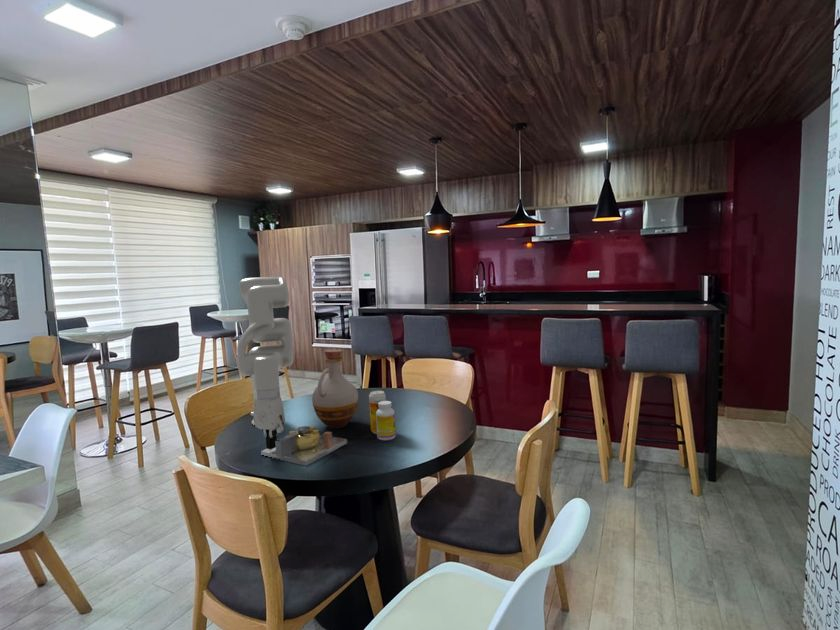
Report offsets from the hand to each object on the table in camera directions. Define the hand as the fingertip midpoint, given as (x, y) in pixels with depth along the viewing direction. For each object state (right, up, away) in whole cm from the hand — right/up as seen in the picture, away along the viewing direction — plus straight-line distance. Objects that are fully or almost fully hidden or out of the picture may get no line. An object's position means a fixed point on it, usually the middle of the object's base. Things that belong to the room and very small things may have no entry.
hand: (272, 447), depth 145 cm
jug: (+16, 0, +27) cm, 32 cm away
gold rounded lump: (+8, 0, +2) cm, 8 cm away
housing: (+10, -2, +5) cm, 11 cm away
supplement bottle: (+37, 0, +12) cm, 39 cm away
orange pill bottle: (+34, 0, +18) cm, 38 cm away
